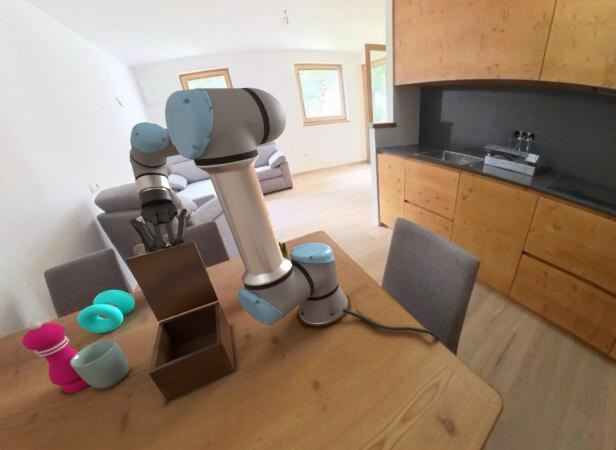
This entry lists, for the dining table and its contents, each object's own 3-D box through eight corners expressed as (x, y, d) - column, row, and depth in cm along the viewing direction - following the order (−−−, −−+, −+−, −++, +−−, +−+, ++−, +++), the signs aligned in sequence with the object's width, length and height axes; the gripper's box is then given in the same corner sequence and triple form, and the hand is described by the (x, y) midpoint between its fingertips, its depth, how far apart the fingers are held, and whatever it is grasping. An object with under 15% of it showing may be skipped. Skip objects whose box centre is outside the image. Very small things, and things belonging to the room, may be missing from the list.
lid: (194, 242, 73) (194, 241, 73) (125, 259, 66) (126, 258, 67) (218, 300, 80) (218, 299, 80) (157, 321, 73) (158, 319, 74)
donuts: (142, 308, 94) (128, 284, 90) (126, 329, 85) (109, 305, 81) (106, 315, 92) (90, 292, 87) (86, 338, 83) (67, 313, 78)
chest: (234, 370, 71) (221, 343, 67) (167, 401, 64) (148, 373, 60) (230, 326, 85) (219, 301, 80) (174, 348, 78) (159, 322, 74)
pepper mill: (65, 400, 66) (9, 341, 57) (58, 385, 69) (4, 327, 61) (105, 376, 71) (60, 318, 62) (97, 363, 75) (53, 307, 66)
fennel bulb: (293, 266, 112) (286, 240, 107) (284, 273, 108) (276, 246, 103) (282, 263, 115) (275, 238, 109) (273, 270, 111) (265, 244, 105)
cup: (108, 396, 66) (86, 369, 62) (84, 391, 68) (60, 363, 63) (141, 367, 73) (123, 340, 69) (119, 363, 75) (99, 336, 70)
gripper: (186, 195, 87) (205, 264, 81) (133, 205, 81) (149, 280, 75) (178, 183, 80) (198, 257, 75) (119, 193, 74) (136, 274, 69)
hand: (174, 269), depth 75 cm, fingers closed
